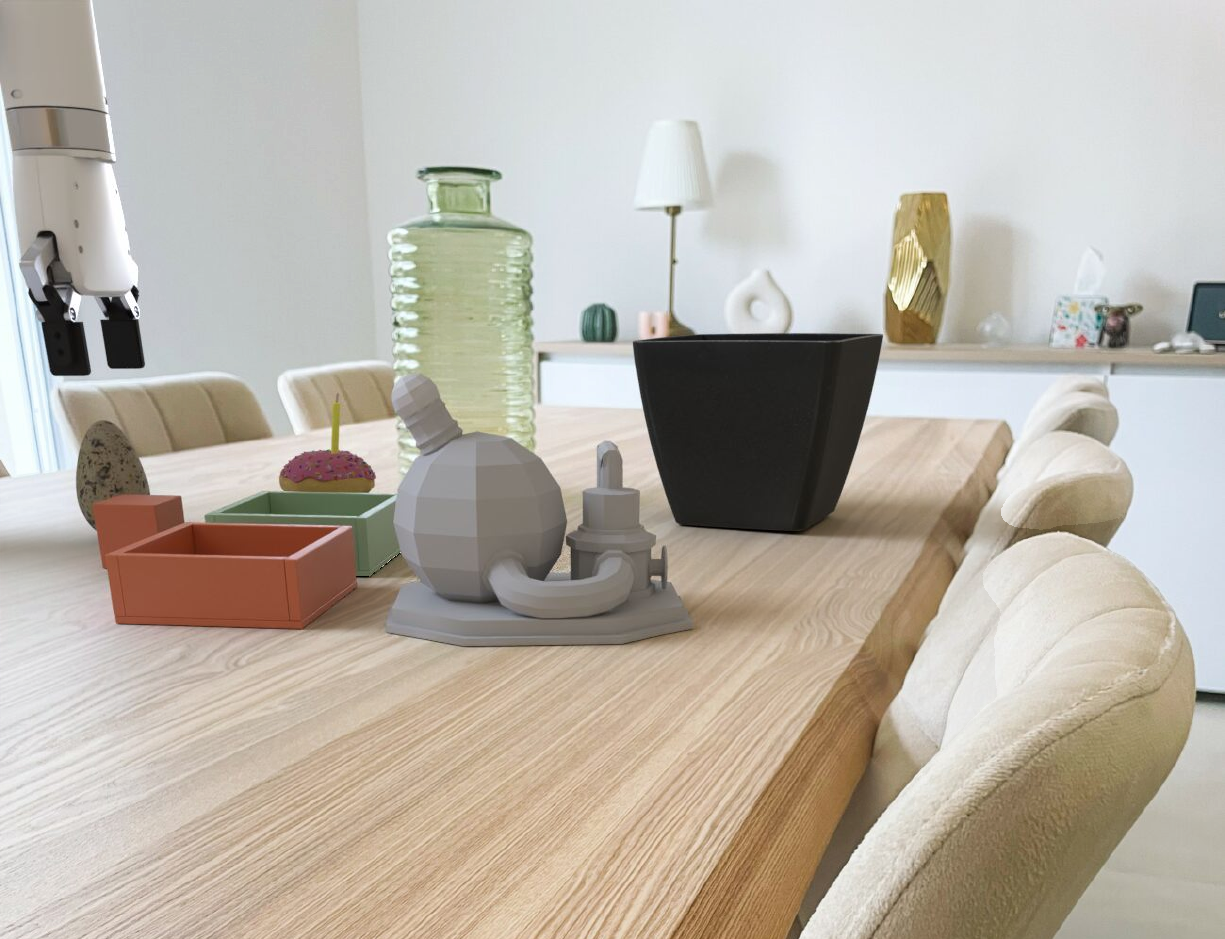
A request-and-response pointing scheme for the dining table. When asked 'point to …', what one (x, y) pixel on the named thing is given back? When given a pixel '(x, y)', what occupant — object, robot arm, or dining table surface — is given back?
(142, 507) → the terracotta block
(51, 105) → the robot arm
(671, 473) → the flower pot
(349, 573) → the terracotta bin
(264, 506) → the sage bin
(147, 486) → the decorative egg
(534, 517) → the grey distillation still model
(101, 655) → the dining table surface
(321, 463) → the donut with candle
